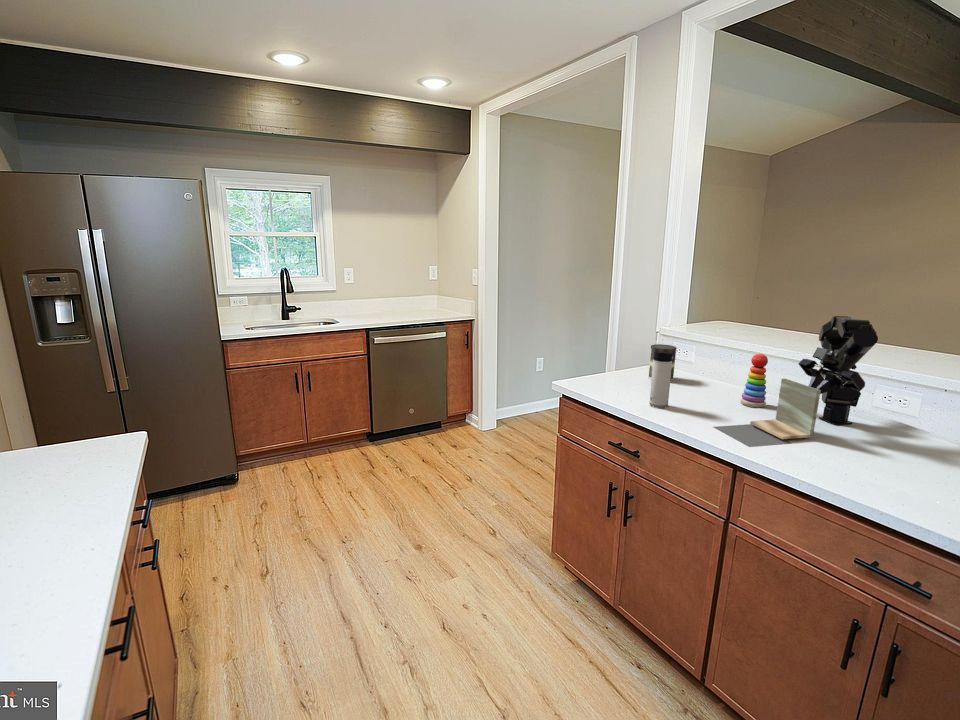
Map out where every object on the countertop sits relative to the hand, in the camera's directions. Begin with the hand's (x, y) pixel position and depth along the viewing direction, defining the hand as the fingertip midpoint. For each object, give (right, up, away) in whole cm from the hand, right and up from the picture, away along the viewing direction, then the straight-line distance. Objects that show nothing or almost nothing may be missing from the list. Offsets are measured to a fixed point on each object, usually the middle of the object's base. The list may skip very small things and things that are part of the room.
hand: (810, 393), depth 147 cm
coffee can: (-22, +2, +63) cm, 67 cm away
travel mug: (-36, -6, +27) cm, 45 cm away
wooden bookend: (-9, -12, +1) cm, 15 cm away
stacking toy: (-2, -6, +28) cm, 29 cm away
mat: (-18, -12, -1) cm, 22 cm away
